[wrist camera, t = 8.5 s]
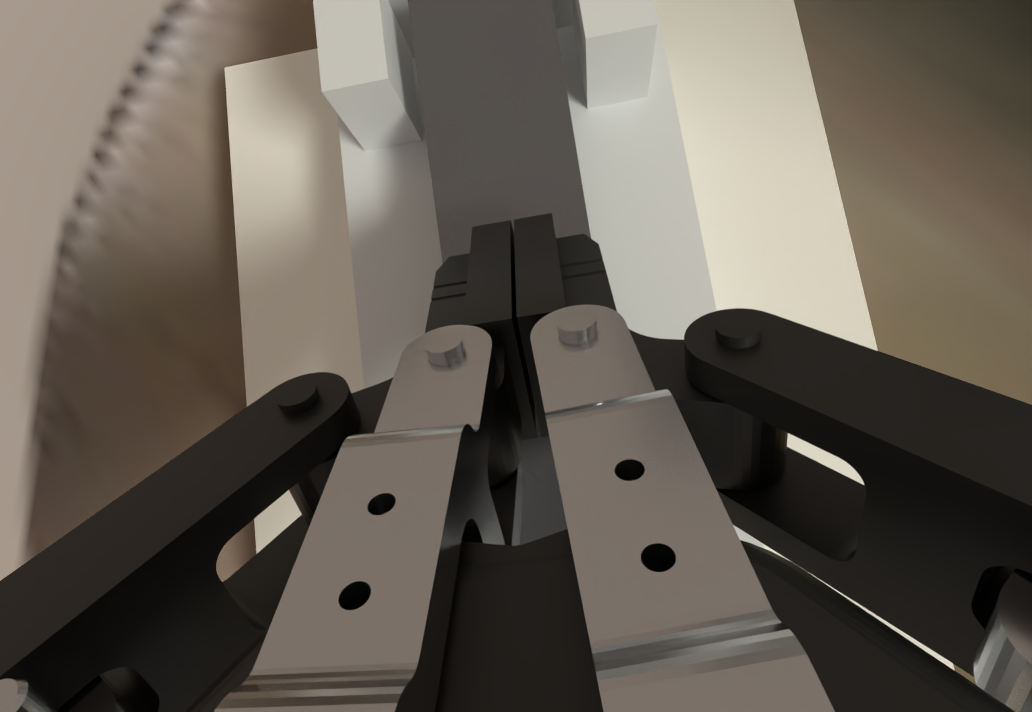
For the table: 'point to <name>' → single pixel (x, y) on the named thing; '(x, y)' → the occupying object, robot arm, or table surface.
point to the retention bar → (500, 154)
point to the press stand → (604, 173)
